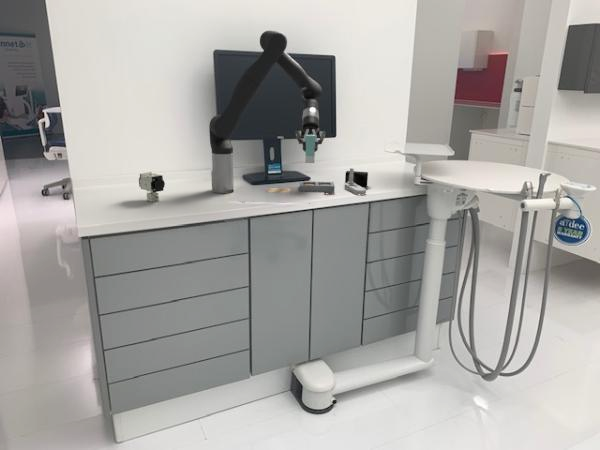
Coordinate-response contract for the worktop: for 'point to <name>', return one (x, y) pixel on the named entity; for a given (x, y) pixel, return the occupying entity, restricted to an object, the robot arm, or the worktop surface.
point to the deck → (279, 190)
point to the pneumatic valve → (151, 185)
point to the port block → (317, 186)
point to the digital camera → (358, 178)
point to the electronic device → (354, 185)
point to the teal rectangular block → (310, 149)
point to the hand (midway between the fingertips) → (310, 150)
